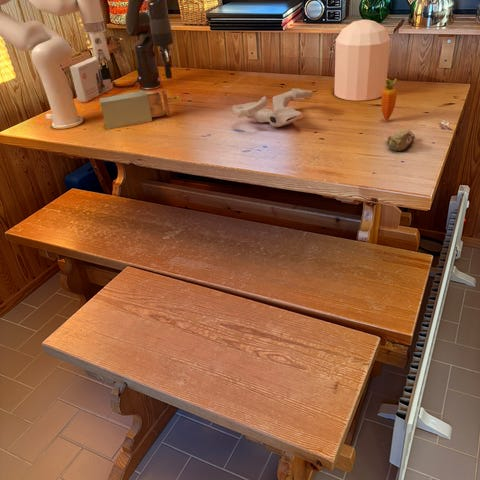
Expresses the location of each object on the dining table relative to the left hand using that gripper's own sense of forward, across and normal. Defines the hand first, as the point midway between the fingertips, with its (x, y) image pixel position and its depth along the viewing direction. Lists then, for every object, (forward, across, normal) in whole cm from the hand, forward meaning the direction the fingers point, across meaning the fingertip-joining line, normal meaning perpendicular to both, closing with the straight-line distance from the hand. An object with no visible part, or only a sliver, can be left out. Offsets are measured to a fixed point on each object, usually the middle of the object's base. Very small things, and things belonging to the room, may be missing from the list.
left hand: (106, 76), depth 175 cm
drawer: (+18, 0, -15) cm, 24 cm away
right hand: (+4, 0, -23) cm, 24 cm away
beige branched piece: (+19, -32, -58) cm, 68 cm away
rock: (+19, -68, -86) cm, 111 cm away
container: (+19, -14, -100) cm, 102 cm away
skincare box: (+19, +47, +7) cm, 51 cm away
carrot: (+19, -47, -93) cm, 106 cm away
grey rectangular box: (+19, 0, -4) cm, 20 cm away
